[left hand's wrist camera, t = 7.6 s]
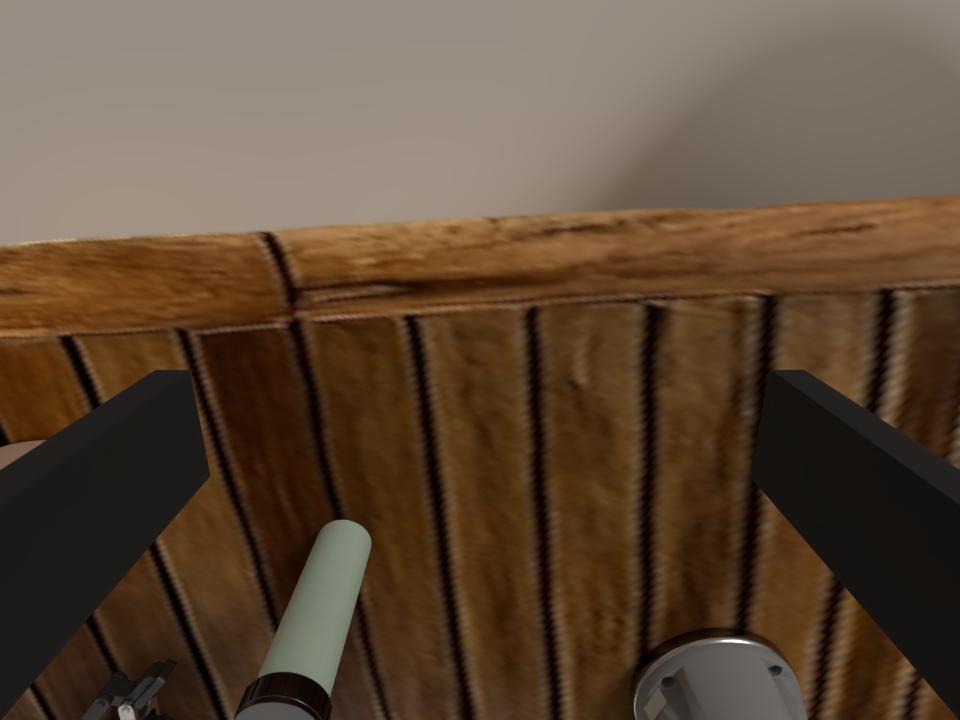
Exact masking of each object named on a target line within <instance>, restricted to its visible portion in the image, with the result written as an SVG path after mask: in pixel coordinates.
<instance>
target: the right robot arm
mask: <svg viewBox="0 0 960 720" xmlns="http://www.w3.org/2000/svg"><path fill="white" fill-rule="evenodd" d="M176 663H177V662H175V661H173V660H172V659H170V658H169V659H168V660H167V661H166V662H165V663H162V662H160V661H158V662H156V663H154V664H153V665H152V666H151V667H150V668H149V669H148V670H147V672H146V673H145V674H144V675H143V676H142V677H141V678H139V679H137V680H136V681H129V680H127V679H128V677H127V675H126V674H125V673H123V672H115V673H114V674H113V675H112V677H111V678H110V679H109V681H108V682H107V683H106V685H105V686H104V687H103V689H102V690H101V691H100V693H99V694H98V695H97V697H96V698H95V699H94V701H93V702H92V704H91V705H90V706H89V708H88V709H87V710H86V712H85V713H84V715H83V716H82V717H81V719H80V720H111V717H112V716H111V714H110V711H111V710H112V708H113V707H112V706H111V705H113V706H117V707H119V708H118V712H119V717H120V720H174V719H173V718H171V717H170V716H168V715H166V714H165V715H164V716H161V714H160V709H159V703H158V698H157V696H153V695H154V694H155V693H156V692H157V691H158V690H159V689H160V688H161V687H162V685H163V684H164V683H165V681H166V680H167V678H168V677H169V675H170V673H171V672H172V670H173V668H174V667H175V665H176Z"/></svg>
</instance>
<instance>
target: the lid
mask: <svg viewBox="0 0 960 720" xmlns="http://www.w3.org/2000/svg"><path fill="white" fill-rule="evenodd" d="M331 710H332V705H331V701H330V698H329V694H328V693H327V692H326V691H325V689H324V688H323V687H322V686H321V685H320V684H318V683H317V682H316V681H314V680H313V679H311V678H309V677H306V676H304V675H301V674H297V673H293V672H274V673H269V674H266V675H264V676H261V677H258V678H257V679H256V680H255V681H254V682H253V683H252V684H251V685H250V686H247V688H246V691H245V693H244V695H243V698H242V700H241V702H240V705H239V707H238V710H237V712H236V714H235V717H234V720H330V714H331Z"/></svg>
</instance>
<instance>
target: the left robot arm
mask: <svg viewBox="0 0 960 720" xmlns="http://www.w3.org/2000/svg"><path fill="white" fill-rule="evenodd" d="M209 477H210V471H209V466H208V461H207V456H206V451H205V446H204V441H203V436H202V431H201V426H200V421H199V415H198V410H197V405H196V400H195V395H194V390H193V385H192V380H191V375H190V370H155V371H153V372H152V373H150V374H149V375H147V376H146V377H144V378H143V379H141V380H139V381H138V382H136V383H135V384H133V385H132V386H130V387H128V388H127V389H125V390H124V391H122V392H121V393H119V394H118V395H116V396H114V397H113V398H111V399H110V400H108V401H107V402H105V403H104V404H102V405H100V406H99V407H97V408H96V409H94V410H93V411H91V412H90V413H88V414H86V415H85V416H83V417H82V418H80V419H79V420H77V421H76V422H74V423H72V424H71V425H69V426H68V427H66V428H65V429H63V430H62V431H60V432H58V433H57V434H55V435H54V436H52V437H51V438H49V439H48V440H46V441H44V442H43V443H41V444H40V445H38V446H37V447H35V448H34V449H32V450H30V451H29V452H27V453H26V454H24V455H23V456H21V457H20V458H18V459H16V460H15V461H13V462H12V463H10V464H9V465H7V466H6V467H4V468H2V469H1V470H0V720H1V719H2V718H3V717H4V715H5V714H6V713H7V712H8V711H9V710H10V708H11V707H12V706H13V705H14V704H15V703H16V701H17V700H18V699H19V698H20V697H21V696H22V695H23V693H24V692H25V691H26V690H27V689H28V688H29V686H30V685H31V684H32V683H33V682H34V681H35V679H36V678H37V677H38V676H39V675H40V674H41V672H42V671H43V670H44V669H45V668H46V667H47V665H48V664H49V663H50V662H51V661H52V660H53V658H54V657H55V656H56V655H57V654H58V653H59V651H60V650H61V649H62V648H63V647H64V646H65V644H66V643H67V642H68V641H69V640H70V639H71V637H72V636H73V635H74V634H75V633H76V632H77V630H78V629H79V628H80V627H81V626H82V625H83V623H84V622H85V621H86V620H87V619H88V618H89V616H90V615H91V614H92V613H93V612H94V611H95V609H96V608H97V607H98V606H99V605H100V604H101V603H102V601H103V600H104V599H105V598H106V597H107V596H108V594H109V593H110V592H111V591H112V590H113V589H114V587H115V586H116V585H117V584H118V583H119V582H120V580H121V579H122V578H123V577H124V576H125V575H126V573H127V572H128V571H129V570H130V569H131V568H132V566H133V565H134V564H135V563H136V562H137V561H138V559H139V558H140V557H141V556H142V555H143V554H144V552H145V551H146V550H147V549H148V548H149V547H150V545H151V544H152V543H153V542H154V541H155V540H156V538H157V537H158V536H159V535H160V534H161V533H162V531H163V530H164V529H165V528H166V527H167V526H168V524H169V523H170V522H171V521H172V520H173V519H174V517H175V516H176V515H177V514H178V513H179V512H180V511H181V509H182V508H183V507H184V506H185V505H186V504H187V502H188V501H189V500H190V499H191V498H192V497H193V495H194V494H195V493H196V492H197V491H198V490H199V488H200V487H201V486H202V485H203V484H204V483H205V481H206V480H207V479H208V478H209ZM750 477H751V478H752V479H753V480H754V481H755V483H756V484H757V485H758V486H759V487H760V488H761V490H762V491H763V492H764V493H765V494H766V495H767V497H768V498H769V499H770V500H771V501H772V502H773V504H774V505H775V506H776V507H777V508H778V509H779V511H780V512H781V513H782V514H783V515H784V516H785V517H786V519H787V520H788V521H789V522H790V523H791V524H792V526H793V527H794V528H795V529H796V530H797V531H798V533H799V534H800V535H801V536H802V537H803V538H804V540H805V541H806V542H807V543H808V544H809V545H810V547H811V548H812V549H813V550H814V551H815V552H816V554H817V555H818V556H819V557H820V558H821V559H822V561H823V562H824V563H825V564H826V565H827V566H828V568H829V569H830V570H831V571H832V572H833V573H834V575H835V576H836V577H837V578H838V579H839V580H840V582H841V583H842V584H843V585H844V586H845V587H846V589H847V590H848V591H849V592H850V593H851V594H852V596H853V597H854V598H855V599H856V600H857V601H858V603H859V604H860V605H861V606H862V607H863V608H864V609H865V611H866V612H867V613H868V614H869V615H870V616H871V618H872V619H873V620H874V621H875V622H876V623H877V625H878V626H879V627H880V628H881V629H882V630H883V632H884V633H885V634H886V635H887V636H888V637H889V639H890V640H891V641H892V642H893V643H894V644H895V646H896V647H897V648H898V649H899V650H900V651H901V653H902V654H903V655H904V656H905V657H906V658H907V660H908V661H909V662H910V663H911V664H912V665H913V667H914V668H915V669H916V670H917V671H918V672H919V674H920V675H921V676H922V677H923V678H924V679H925V681H926V682H927V683H928V684H929V685H930V686H931V688H932V689H933V690H934V691H935V692H936V693H937V695H938V696H939V697H940V698H941V699H942V700H943V701H944V703H945V704H946V705H947V706H948V707H949V708H950V710H951V711H952V712H953V713H954V714H955V715H956V717H957V718H958V719H959V720H960V470H959V469H958V468H956V467H954V466H953V465H951V464H950V463H948V462H947V461H945V460H944V459H942V458H940V457H939V456H937V455H936V454H934V453H933V452H931V451H930V450H928V449H926V448H925V447H923V446H922V445H920V444H919V443H917V442H916V441H914V440H912V439H911V438H909V437H908V436H906V435H905V434H903V433H902V432H900V431H898V430H897V429H895V428H894V427H892V426H891V425H889V424H888V423H886V422H884V421H883V420H881V419H880V418H878V417H877V416H875V415H874V414H872V413H870V412H869V411H867V410H866V409H864V408H863V407H861V406H860V405H858V404H856V403H855V402H853V401H852V400H850V399H849V398H847V397H846V396H844V395H842V394H841V393H839V392H838V391H836V390H835V389H833V388H832V387H830V386H828V385H827V384H825V383H824V382H822V381H821V380H819V379H817V378H816V377H814V376H813V375H811V374H810V373H808V372H807V371H805V370H770V375H769V380H768V385H767V390H766V395H765V400H764V405H763V410H762V415H761V421H760V426H759V431H758V436H757V441H756V446H755V451H754V456H753V461H752V466H751V471H750ZM630 697H631V703H632V707H633V711H634V714H635V718H636V720H808V719H807V715H806V710H805V706H804V702H803V698H802V693H801V689H800V686H799V683H798V681H797V678H796V675H795V673H794V671H793V669H792V668H791V666H790V665H789V663H788V661H787V660H786V658H785V656H784V655H783V653H782V652H781V651H780V650H779V649H778V648H777V647H776V646H775V645H774V644H773V643H771V642H770V641H768V640H767V639H765V638H763V637H761V636H759V635H757V634H754V633H751V632H747V631H743V630H737V629H726V628H718V629H707V630H701V631H697V632H692V633H689V634H686V635H683V636H680V637H678V638H676V639H674V640H671V641H670V642H668V643H666V644H664V645H663V646H661V647H660V648H658V649H657V650H656V651H654V652H653V653H652V654H651V655H650V656H649V657H648V658H647V659H646V660H645V661H644V662H643V663H642V664H641V666H640V667H639V669H638V670H637V672H636V674H635V676H634V679H633V681H632V685H631V692H630Z"/></svg>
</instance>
